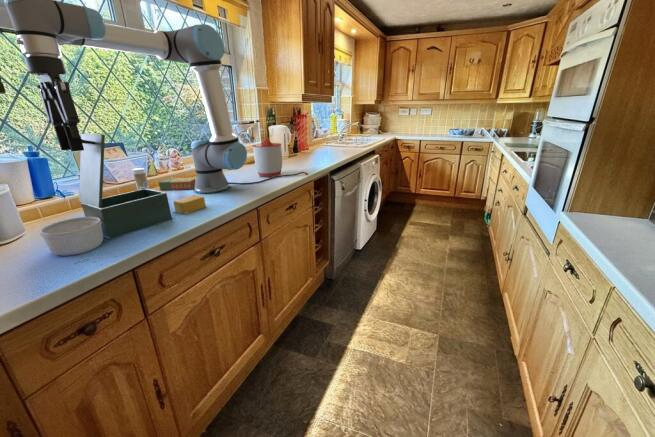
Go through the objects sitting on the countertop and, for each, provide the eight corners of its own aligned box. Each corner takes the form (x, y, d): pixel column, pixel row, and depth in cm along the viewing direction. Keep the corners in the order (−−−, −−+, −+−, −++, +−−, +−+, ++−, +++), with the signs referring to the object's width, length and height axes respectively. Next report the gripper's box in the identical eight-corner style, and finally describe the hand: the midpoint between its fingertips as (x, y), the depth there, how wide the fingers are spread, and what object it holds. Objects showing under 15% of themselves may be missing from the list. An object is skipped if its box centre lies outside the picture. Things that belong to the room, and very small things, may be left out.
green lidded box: (151, 213, 112) (145, 188, 109) (172, 218, 105) (166, 192, 102) (90, 231, 96) (80, 203, 93) (110, 239, 90) (100, 209, 86)
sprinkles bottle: (147, 201, 127) (139, 169, 123) (137, 201, 128) (129, 169, 123) (154, 198, 132) (146, 167, 127) (144, 198, 132) (136, 167, 127)
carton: (192, 189, 144) (190, 180, 143) (159, 190, 145) (157, 181, 143) (199, 185, 152) (198, 176, 151) (168, 186, 153) (166, 177, 151)
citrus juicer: (268, 171, 181) (264, 137, 174) (289, 174, 171) (286, 137, 164) (247, 176, 169) (243, 139, 162) (269, 179, 159) (266, 140, 152)
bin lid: (84, 134, 91) (60, 130, 86) (105, 134, 84) (80, 130, 79) (82, 201, 93) (58, 201, 88) (101, 207, 86) (78, 207, 82)
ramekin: (113, 245, 85) (106, 222, 83) (52, 263, 76) (42, 238, 73) (100, 234, 93) (94, 213, 91) (44, 249, 84) (35, 226, 82)
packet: (196, 204, 120) (194, 195, 119) (205, 206, 117) (204, 196, 116) (175, 211, 113) (173, 201, 112) (184, 213, 110) (182, 203, 109)
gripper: (11, 59, 78) (43, 150, 86) (37, 50, 68) (70, 153, 76) (48, 62, 84) (74, 147, 92) (76, 54, 74) (103, 150, 82)
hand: (72, 150), depth 84 cm, fingers closed on bin lid, 6 cm apart
